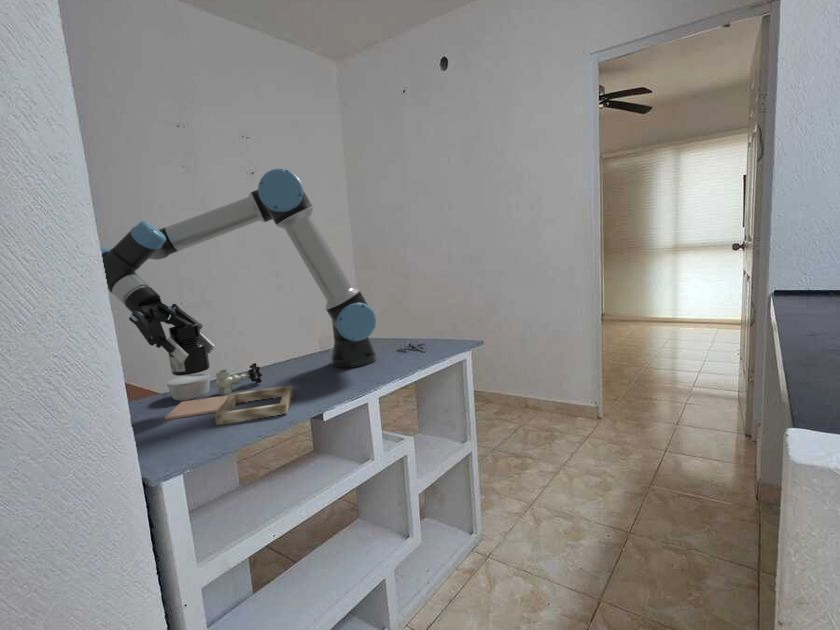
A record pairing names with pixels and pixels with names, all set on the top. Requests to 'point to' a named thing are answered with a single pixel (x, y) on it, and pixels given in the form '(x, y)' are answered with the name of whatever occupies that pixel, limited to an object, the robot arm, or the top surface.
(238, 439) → the top surface
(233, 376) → the valve
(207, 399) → the terracotta tile
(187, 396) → the ramekin
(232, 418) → the birch collar
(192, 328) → the ink bottle
